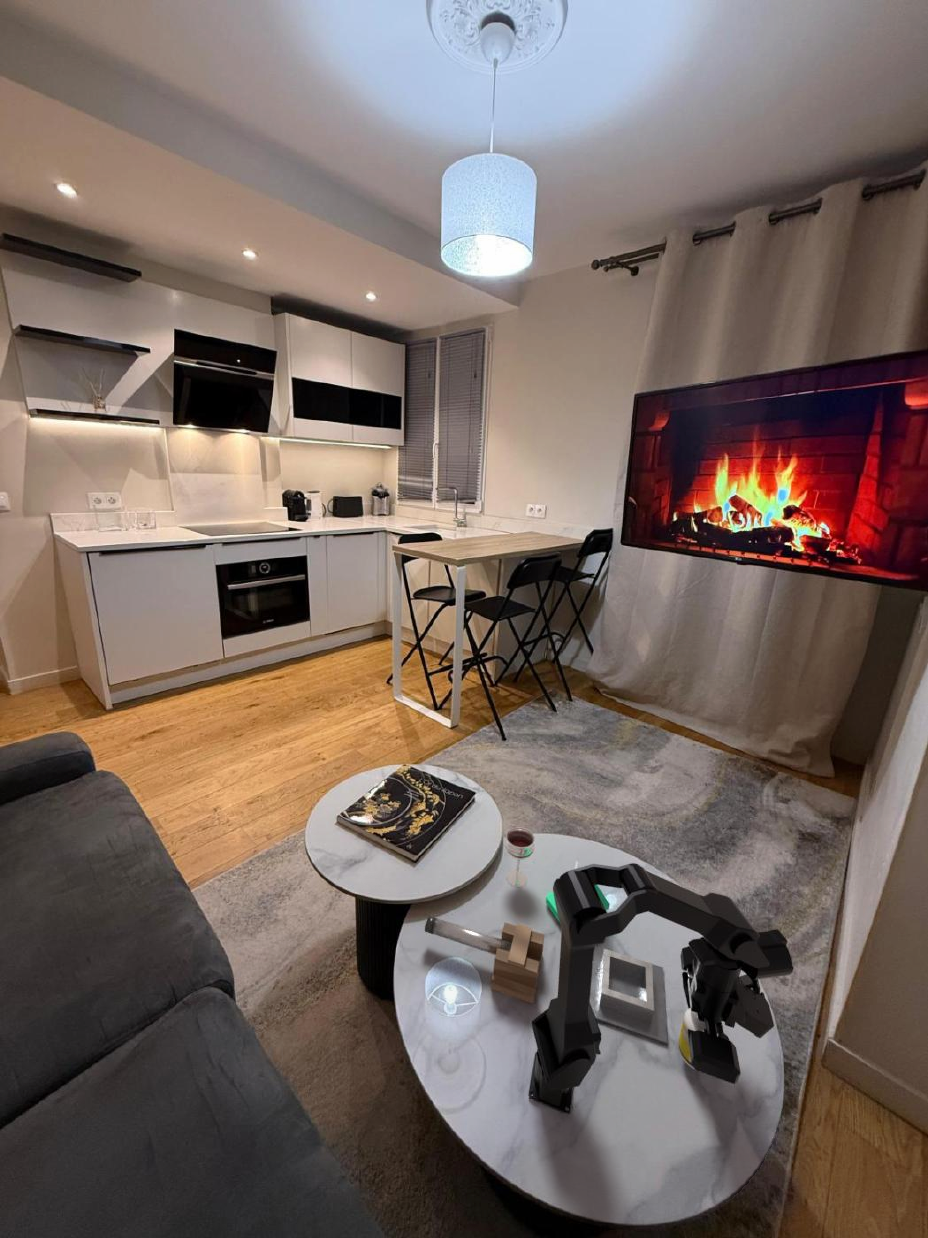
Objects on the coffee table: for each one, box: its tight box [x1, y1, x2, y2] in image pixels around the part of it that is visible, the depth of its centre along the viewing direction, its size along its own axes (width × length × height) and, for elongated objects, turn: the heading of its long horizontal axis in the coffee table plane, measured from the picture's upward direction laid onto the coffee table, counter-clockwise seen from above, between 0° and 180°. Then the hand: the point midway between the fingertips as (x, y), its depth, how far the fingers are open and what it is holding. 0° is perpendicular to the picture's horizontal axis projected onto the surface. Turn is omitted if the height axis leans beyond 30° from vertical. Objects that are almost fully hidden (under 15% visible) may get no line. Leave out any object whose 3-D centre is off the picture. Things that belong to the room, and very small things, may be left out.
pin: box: [424, 915, 512, 955], centre depth 97 cm, size 18×3×3 cm, turn 72°
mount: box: [490, 921, 545, 1004], centre depth 94 cm, size 10×8×7 cm
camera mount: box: [545, 885, 610, 923], centre depth 108 cm, size 12×8×10 cm, turn 115°
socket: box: [590, 946, 668, 1046], centre depth 92 cm, size 14×14×4 cm
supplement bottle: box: [677, 1008, 718, 1070], centre depth 80 cm, size 5×5×10 cm
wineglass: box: [504, 826, 536, 888], centre depth 115 cm, size 7×7×12 cm
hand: (697, 1043), depth 81 cm, fingers closed on supplement bottle, 5 cm apart
